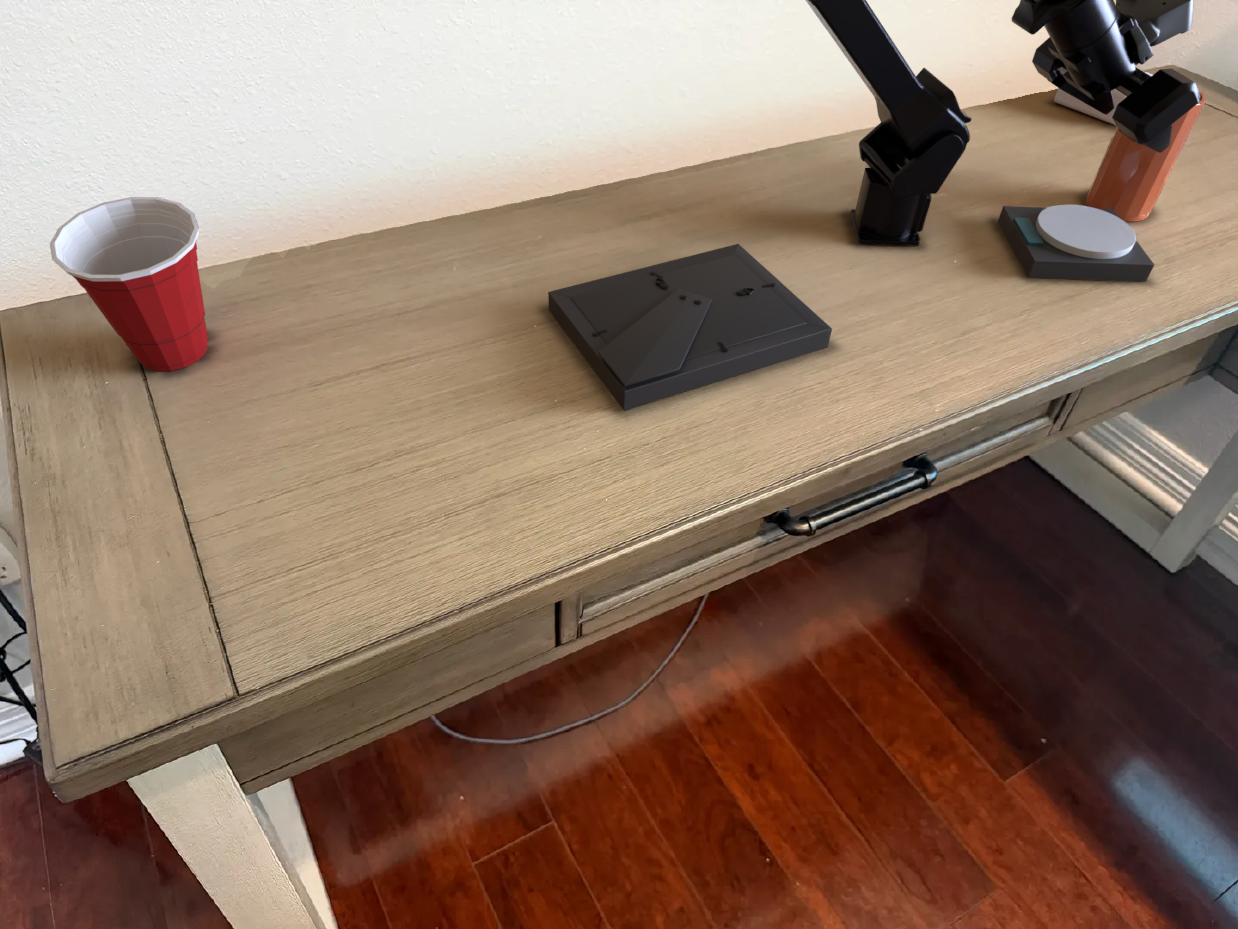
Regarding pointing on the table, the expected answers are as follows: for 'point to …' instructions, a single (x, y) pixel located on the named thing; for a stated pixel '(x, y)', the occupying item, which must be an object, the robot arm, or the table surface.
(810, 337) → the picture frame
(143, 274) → the plastic cup
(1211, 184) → the table surface
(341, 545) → the table surface
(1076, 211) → the scale
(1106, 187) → the tumbler
